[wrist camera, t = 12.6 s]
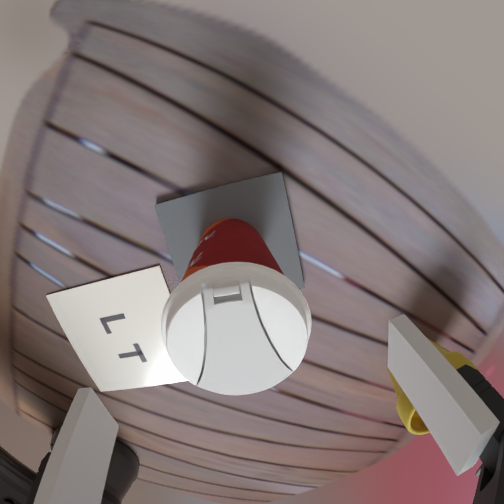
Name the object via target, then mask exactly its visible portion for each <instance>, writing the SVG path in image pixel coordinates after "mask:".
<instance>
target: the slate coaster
mask: <svg viewBox="0 0 504 504" xmlns="http://www.w3.org/2000/svg"><path fill="white" fill-rule="evenodd" d="M155 208H156V211H157V214H158V218H159V221H160V224H161V227H162V230H163V233H164V236H165V240H166V243H167V246H168V249H169V252H170V255H171V257H172V260H173V263H174V266H175V269H176V272H177V275H178V278H179V280H180V283H181V281H182V279H183V276H184V274H185V271H186V269H187V267H188V264H189V262H190V260H191V258H192V255H193V253H194V251H195V249H196V246H197V244H198V242H199V240H200V238H201V236H202V235H203V233H204V232H205V231H206V229H207V228H208V227H209V226H211V225H212V224H213V223H215V222H217V221H219V220H223V219H228V218H234V219H240V220H243V221H245V222H247V223H249V224H250V225H252V226H253V227H254V228H255V229H256V230H257V232H258V233H259V234H260V236H261V237H262V239H263V240H264V242H265V243H266V245H267V247H268V248H269V250H270V252H271V253H272V255H273V257H274V258H275V260H276V262H277V263H278V265H279V267H280V268H281V270H282V272H283V273H284V275H285V276H286V277H287V278H288V279H290V280H291V281H292V282H293V283H294V284H295V285H296V286H297V287H298V288H299V289H302V288H305V287H304V281H303V276H302V270H301V265H300V260H299V254H298V249H297V244H296V239H295V234H294V229H293V224H292V219H291V214H290V209H289V204H288V199H287V194H286V190H285V185H284V180H283V176H282V172H276V173H272V174H267V175H263V176H259V177H255V178H251V179H246V180H242V181H238V182H234V183H230V184H226V185H222V186H219V187H215V188H211V189H207V190H203V191H200V192H196V193H192V194H189V195H185V196H182V197H178V198H175V199H171V200H168V201H164V202H161V203H158V204H156V205H155Z"/></svg>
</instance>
